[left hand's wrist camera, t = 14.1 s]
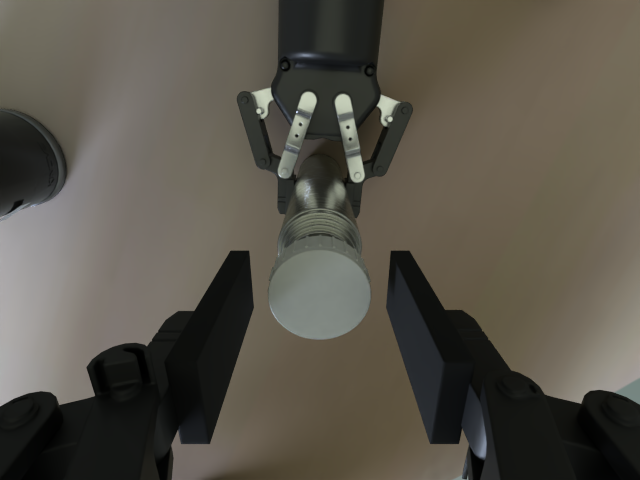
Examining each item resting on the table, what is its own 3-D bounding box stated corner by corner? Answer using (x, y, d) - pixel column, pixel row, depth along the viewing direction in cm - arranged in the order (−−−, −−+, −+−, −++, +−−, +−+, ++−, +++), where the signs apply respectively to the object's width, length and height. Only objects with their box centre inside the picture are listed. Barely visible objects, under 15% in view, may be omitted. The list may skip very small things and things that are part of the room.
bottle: (296, 193, 36) (260, 330, 14) (301, 151, 35) (269, 233, 13) (337, 199, 36) (363, 343, 15) (344, 157, 35) (385, 249, 13)
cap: (267, 313, 15) (262, 334, 14) (276, 227, 14) (271, 241, 13) (357, 324, 16) (361, 346, 14) (375, 241, 14) (382, 256, 13)
